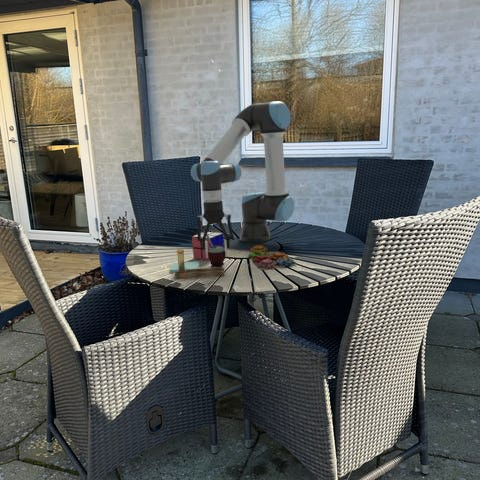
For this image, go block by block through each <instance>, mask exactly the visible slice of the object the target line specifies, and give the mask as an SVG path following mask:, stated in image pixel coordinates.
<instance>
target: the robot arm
mask: <svg viewBox="0 0 480 480" xmlns="http://www.w3.org/2000/svg"><path fill="white" fill-rule="evenodd" d="M291 117H292V116H291V112H290V109H289V107H288V106H287V105H286V104H285V102H282V101H274V100H273V101H269V102H259V103H253V104H250V105H248V106H247V107H245V108H243V109H242V110H241V111H240V112H239V113H238V114H237V115H235V117H234V118H233V119H232V121H231V125H230V127H229V128H228V129H227V130H226V132H225V133H224V134H222V137H220V139H219V140H218V141H217V143H216V144H215V145H214V147H213V148H212V149H211V150H210V151H209V153H208V154H207V156H206V157H204V159H203V160H202V161H201V163H199V162H198V163H195V164H193V165H192V166H191V168H190V176H191V178H192V179H193V180H194V181H196V182H200V183H201V188H202V200H203V201H204V202H203V214H202V215H197V217H196V220H197V235H198V237H197V240H198V241H201V242H202V246H203V250H206V258H208V245H207V241H205V239H206V236H207V233H208V232H209V229H210V226H211V225H214V224H215V225H218V226H219V228H220V230H221V231H222V232H221V233H223V237H224V238H225V239H223V242H224V249H225V258H228V249H230V247H231V246H230V240H233V239H234V232H233V227H232V221H231V219H232V214H231V213H225V212H224V205H223V190H222V185H223V184H227V183H234V182H237V181H239V180H240V179H241V178H242V167H241V166H240V165H239V164H238V163H235V162H233V163H232V162H229V163H225V162H226V161H227V159H228V158H229V157H230V155H232V153H233V152H234V150H235V149H236V148H237V147H238V145H240V143H241V141H242V140H243V139H244V137H247V136H248V135H250V134H251V133H252V131H257V130H258V131H259V135H260V136H262V137H263V147H264V148H263V149H264V150H263V151H264V162H265V163H264V164H265V179H266V181H265V182H266V190H265V191H258V192H252V193H246V194H243V195H242V196H241V213H242V228H241V231H240V233H239V234H240V235H239V237H240V239H239V240H240V241H241V242H242V243H243V242H244V243H248V244H251V243H264V242H268V241H270V240H271V239H272V238H271V236H272V235H271V232H270V230H269V229H270V228H269V227H268V223H267V221H274V222H277V223H278V222H287V221H289V220H290V218H292V216H293V214H294V210H295V201H294V199H293V197H291V196H290V193H289V190H287V188H286V179H285V178H286V177H285V174H286V173H285V157H284V156H285V155H284V135H285V134H286V131H287V130H286V129H287V128H288V127H289V126H290V124H291V121H292V119H291ZM224 218H225V220H226V221H227V227H228V232H229V234H228V233H227V230H226V228H225V226H224V224H223V222H222V220H223V219H224ZM203 220H206V222H207V223H206V226H205V230H204V231H203V232H204V235H203V238H201V233H202V232H201V231H202V222H203Z"/></svg>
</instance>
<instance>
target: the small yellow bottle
mask: <svg viewBox="0 0 480 480" xmlns="http://www.w3.org/2000/svg"><path fill="white" fill-rule="evenodd" d="M176 254H177V255H176V256H177V263H178V267H179V269H177V271H176V273H188V269H185V263H184V262H185V255H184V254H185V250H184V249H177V250H176Z"/></svg>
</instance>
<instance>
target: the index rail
mask: <svg viewBox="0 0 480 480" xmlns="http://www.w3.org/2000/svg"><path fill="white" fill-rule="evenodd" d="M176 271H177V270H176ZM176 271H175V273H174V278H176V279H178V280H180V279H196V278H197V279H198V278H211V277H224V276H225V267H224V266H222V267H218V266H217V267H213V268H211V267H202V268H200V267H199V269H188V273H176Z"/></svg>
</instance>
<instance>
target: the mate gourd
mask: <svg viewBox="0 0 480 480" xmlns="http://www.w3.org/2000/svg"><path fill="white" fill-rule="evenodd" d="M204 232H205V231H203V230H201V233H204ZM207 238H208V239H209V242H210V244H211V247H210V248H209V250H208V257H209V260H208V261H209V263H210V268H217V267H223V266H224V265H225V262H224V261H225V259H226V256H225V247H224V248H223V247H222V246H213V245H212V243H211V241H210V238H209V236H208V235H207Z"/></svg>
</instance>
